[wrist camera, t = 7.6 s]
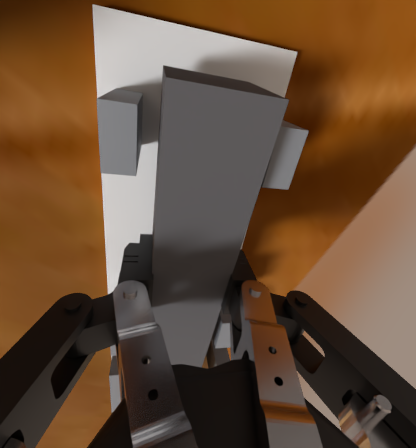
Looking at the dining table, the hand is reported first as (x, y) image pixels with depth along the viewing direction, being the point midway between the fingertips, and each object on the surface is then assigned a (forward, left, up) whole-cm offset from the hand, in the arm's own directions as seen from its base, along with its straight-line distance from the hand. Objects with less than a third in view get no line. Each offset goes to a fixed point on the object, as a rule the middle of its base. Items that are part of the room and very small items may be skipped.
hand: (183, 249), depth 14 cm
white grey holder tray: (+2, 0, -3) cm, 3 cm away
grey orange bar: (+1, 0, -1) cm, 2 cm away
